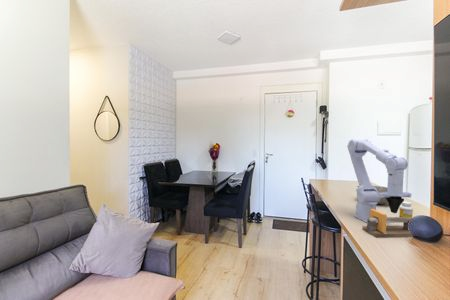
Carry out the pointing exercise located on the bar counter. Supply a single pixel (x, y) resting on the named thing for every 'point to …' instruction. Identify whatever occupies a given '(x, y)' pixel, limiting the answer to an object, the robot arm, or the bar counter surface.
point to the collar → (382, 219)
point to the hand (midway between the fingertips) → (393, 212)
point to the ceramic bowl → (380, 189)
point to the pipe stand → (389, 227)
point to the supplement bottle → (406, 210)
